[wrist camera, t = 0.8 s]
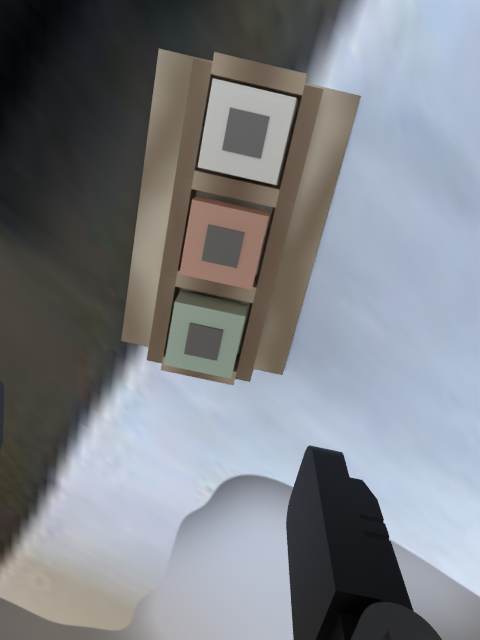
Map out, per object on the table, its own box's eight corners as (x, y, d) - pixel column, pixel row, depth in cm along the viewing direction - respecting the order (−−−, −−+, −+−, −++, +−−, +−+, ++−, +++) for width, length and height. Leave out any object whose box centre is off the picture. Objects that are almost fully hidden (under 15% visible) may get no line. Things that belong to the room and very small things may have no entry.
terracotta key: (268, 211, 32) (269, 217, 29) (252, 279, 33) (251, 290, 31) (197, 195, 31) (191, 200, 29) (185, 264, 33) (178, 275, 31)
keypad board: (357, 96, 32) (372, 89, 28) (281, 369, 40) (284, 395, 36) (162, 50, 32) (147, 36, 28) (125, 336, 40) (109, 359, 36)
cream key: (293, 101, 29) (297, 97, 26) (275, 181, 31) (276, 185, 28) (216, 83, 29) (212, 77, 26) (202, 165, 31) (197, 167, 28)
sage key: (246, 304, 34) (245, 317, 32) (232, 363, 36) (230, 380, 33) (180, 290, 34) (174, 302, 31) (170, 350, 36) (163, 366, 33)
